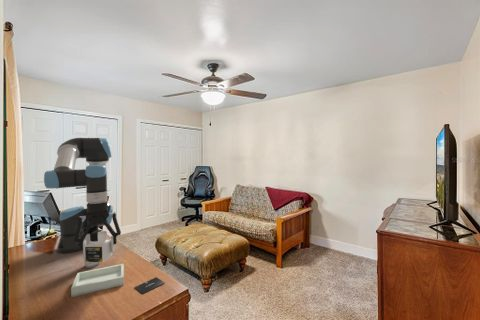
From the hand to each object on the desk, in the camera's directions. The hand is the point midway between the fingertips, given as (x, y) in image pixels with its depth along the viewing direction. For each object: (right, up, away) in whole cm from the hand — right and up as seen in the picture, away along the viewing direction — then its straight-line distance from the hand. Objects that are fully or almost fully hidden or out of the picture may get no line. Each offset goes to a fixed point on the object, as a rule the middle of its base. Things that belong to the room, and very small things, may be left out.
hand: (99, 254), depth 99 cm
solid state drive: (+22, -13, -2) cm, 26 cm away
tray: (0, -12, 0) cm, 12 cm away
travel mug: (-13, -12, +16) cm, 24 cm away
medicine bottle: (0, -2, 0) cm, 2 cm away
